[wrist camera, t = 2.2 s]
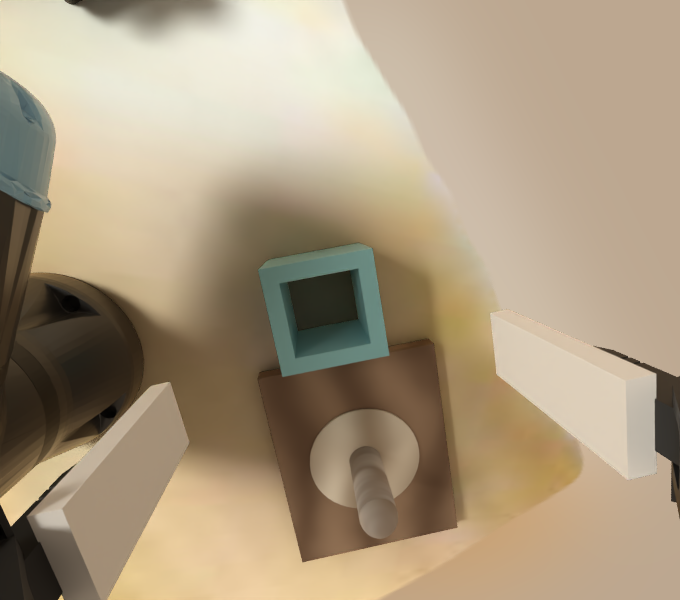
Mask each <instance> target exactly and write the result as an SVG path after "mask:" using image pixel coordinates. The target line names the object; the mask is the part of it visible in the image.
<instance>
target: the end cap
mask: <svg viewBox="0 0 680 600" xmlns="http://www.w3.org/2000/svg"><path fill="white" fill-rule="evenodd" d="M65 1H66V2H67V3H70V4H75V3H78V2H80V1H82V0H65Z"/></svg>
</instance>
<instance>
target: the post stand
mask: <svg viewBox="0 0 680 600" xmlns="http://www.w3.org/2000/svg"><path fill="white" fill-rule="evenodd" d="M388 350H389V356H385V357H380V358H375V359H370V360H365V361H360V362H355V363H350V364H345V365H340V366H335V367H330V368H325V369H320V370H315V371H310V372H305V373H300V374H295V375H290V376H285V377H282V373H281V369H275V370H270V371H265V372H260V374H259V377H258V382H259V386H260V390H261V394H262V399H263V403H264V407H265V411H266V415H267V419H268V423H269V427H270V431H271V435H272V439H273V443H274V448H275V452H276V456H277V460H278V464H279V468H280V472H281V476H282V480H283V484H284V488H285V492H286V497H287V501H288V505H289V509H290V513H291V517H292V521H293V525H294V529H295V533H296V537H297V541H298V546H299V550H300V554H301V558H302V562H306V561H310V560H315V559H319V558H324V557H328V556H332V555H337V554H341V553H346V552H350V551H355V550H359V549H364V548H368V547H373V546H377V545H382V544H386V543H390V542H395V541H399V540H404V539H408V538H413V537H417V536H422V535H426V534H431V533H435V532H440V531H444V530H448V529H453V528H457V520H456V512H455V504H454V496H453V489H452V481H451V473H450V465H449V458H448V450H447V442H446V434H445V427H444V419H443V411H442V403H441V396H440V388H439V380H438V373H437V365H436V357H435V349H434V344H433V343H432V342H431V341H430V340H429V339H425V340H420V341H415V342H410V343H405V344H400V345H395V346H390V347H388Z"/></svg>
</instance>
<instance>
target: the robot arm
mask: <svg viewBox="0 0 680 600" xmlns="http://www.w3.org/2000/svg"><path fill="white" fill-rule="evenodd" d="M55 144H56V134H55V128H54V125H53V122H52V120H51V118H50V116H49V114H48V112H47V111H46V109H45V108H44V106H43V105H42V104H41V103H40V102H39V100H38V99H37V98H36V97H35V96H34V95H32V94H31V93H30V92H29V91H28V90H27V89H26V88H24V87H23V86H22V85H20V84H19V83H18V82H16V81H15V80H13V79H12V78H10V77H9V76H7V75H6V74H4V73H3V72H1V71H0V498H1V497H2V496H3V495H4V494H6V493H7V492H8V491H9V490H10V489H11V488H12V487H13V486H14V485H15V484H17V483H18V482H19V481H20V480H21V479H22V478H23V477H24V476H25V475H26V474H27V473H28V472H29V471H31V470H32V469H33V468H34V467H35V466H36V465H37V464H39V463H41V462H43V461H46V460H48V459H50V458H53V457H55V456H57V455H60V454H62V453H64V452H67V451H69V450H71V449H73V448H76V447H78V446H80V445H83V444H85V443H87V442H89V441H91V440H93V439H95V438H96V437H98V436H99V435H101V434H102V433H104V432H105V431H106V430H107V429H109V428H110V427H111V426H112V425H113V424H114V423H115V422H116V421H117V420H118V419H119V418H120V417H121V416H122V415H123V414H124V415H123V416H122V417H121V418H120V419H119V420H118V421H117V422H116V423H115V424H114V425H113V426H112V427H111V428H110V429H109V430H108V431H107V432H106V434H105V435H104V436H103V437H102V438H101V439H100V440H99V441H98V442H97V443H96V444H95V445H94V446H93V447H92V448H91V449H90V450H89V451H88V453H87V454H86V455H85V456H84V457H83V458H82V459H81V460H80V461H79V462H78V463H77V464H75V465H74V466H73V467H71V468H70V469H68V470H67V471H66V472H64V473H63V474H62V475H61V476H60V477H59V478H58V479H57V480H56V481H55V482H54V483H53V484H52V485H51V486H50V487H49V490H46V491H45V492H44V493H43V494H42V495H41V496H40V497H39V500H38V501H35V503H34V504H33V505H32V506H31V507H30V508H29V509H28V510H27V511H26V512H25V513H24V514H23V515H22V516H21V517H20V518H19V519H18V520H17V521H16V522H15V523H14V524H13V525H12V526H10V524H9V522H8V520H7V518H6V516H5V514H4V512H3V509H2V507H1V505H0V600H58V599H59V597H60V596H61V594H62V596H63V598H64V600H107V598H108V596H109V595H110V593H111V591H112V589H113V587H114V585H115V583H116V581H117V579H118V578H119V576H120V574H121V572H122V570H123V568H124V566H125V564H126V562H127V560H128V559H129V557H130V555H131V553H132V551H133V549H134V547H135V545H136V543H137V542H138V540H139V538H140V536H141V534H142V532H143V530H144V528H145V526H146V524H147V523H148V521H149V519H150V517H151V515H152V513H153V511H154V509H155V507H156V506H157V504H158V502H159V500H160V498H161V496H162V494H163V492H164V490H165V488H166V487H167V485H168V483H169V481H170V479H171V477H172V475H173V473H174V471H175V470H176V468H177V466H178V464H179V462H180V460H181V458H182V456H183V454H184V453H185V451H186V449H187V447H188V445H189V443H190V442H189V439H188V436H187V433H186V430H185V427H184V423H183V420H182V417H181V414H180V411H179V408H178V405H177V402H176V398H175V395H174V392H173V389H172V386H171V383H170V382H166V383H162V384H157V385H152V386H150V387H149V388H148V389H147V390H146V391H145V392H144V393H143V394H142V396H141V397H140V398H139V399H138V400H137V401H136V402H135V403H134V404H133V405H132V406H131V407H130V405H131V404H132V402H133V401H134V399H135V397H136V395H137V393H138V391H139V388H140V385H141V381H142V376H143V353H142V348H141V344H140V341H139V338H138V336H137V333H136V331H135V329H134V327H133V325H132V324H131V322H130V321H129V319H128V318H127V316H126V315H125V314H124V312H123V311H122V310H121V309H120V308H119V307H118V306H117V305H116V304H115V303H114V302H113V301H112V300H111V299H110V298H109V297H107V296H106V295H105V294H103V293H102V292H100V291H99V290H97V289H96V288H94V287H92V286H90V285H88V284H86V283H84V282H82V281H79V280H77V279H74V278H71V277H67V276H64V275H59V274H52V273H30V272H31V267H32V263H33V258H34V254H35V250H36V245H37V241H38V236H39V232H40V227H41V223H42V219H43V214H44V212H47V213H48V212H49V210H50V208H51V203H50V201H49V199H48V198H47V194H48V188H49V182H50V176H51V169H52V163H53V157H54V151H55ZM490 317H491V326H492V336H493V345H494V354H495V364H496V373H497V375H498V376H499V377H501V378H502V379H503V380H504V381H505V382H507V383H508V384H509V385H510V386H512V387H513V388H514V389H515V390H517V391H518V392H519V393H520V394H522V395H523V396H524V397H525V398H527V399H528V400H529V401H530V402H531V403H533V404H534V405H535V406H536V407H538V408H539V409H540V410H541V411H543V412H544V413H545V414H546V415H548V416H549V417H550V418H551V419H553V420H554V421H555V422H556V423H558V424H559V425H560V426H561V427H562V428H564V429H565V430H566V431H567V432H569V433H570V434H571V435H572V436H574V437H575V438H576V439H577V440H579V441H580V442H581V443H582V444H584V445H585V446H586V447H587V448H589V449H590V450H591V451H592V452H593V453H595V454H596V455H597V456H598V457H600V458H601V459H602V460H603V461H605V462H606V463H607V464H608V465H610V466H611V467H612V468H613V469H615V470H616V471H617V472H618V473H620V474H621V475H622V476H623V477H625V478H626V479H627V480H632V479H636V478H640V477H644V476H648V475H652V474H656V473H657V452H658V453H660V454H661V455H663V456H664V457H666V458H667V459H669V460H670V461H672V473H671V477H672V478H671V501H673V502H677V507H678V512H679V517H680V376H679V377H676V376H673V375H671V374H669V373H666V372H664V371H661V370H659V369H657V368H654V367H652V366H650V365H647V364H645V363H640V361H638V360H635V359H633V358H628V356H626V355H623V354H621V353H619V352H616V351H614V350H610V349H605V348H600V347H596V346H591V345H589V344H587V343H585V342H582V341H580V340H578V339H575V338H573V337H571V336H568V335H566V334H563V333H562V332H559V331H557V330H555V329H552V328H550V327H548V326H545V325H543V324H541V323H539V322H536V321H534V320H532V319H530V318H527V317H525V316H523V315H520V314H518V313H516V312H514V311H511V310H509V309H506V310H501V311H497V312H492V313H490ZM129 407H130V408H129ZM128 408H129V409H128ZM127 409H128V410H127ZM126 410H127V411H126ZM125 411H126V412H125Z"/></svg>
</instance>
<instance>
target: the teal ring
mask: <svg viewBox="0 0 680 600" xmlns="http://www.w3.org/2000/svg"><path fill="white" fill-rule="evenodd" d="M348 270H350V274H351V280H352V285H353V291H354V297H355V303H356V308H357V314H358V319H356V320H351V321H346V322H341V323H335V324H330V325H325V326H320V327H315V328H310V329H305V330H300V331H298V329H297V324H296V319H295V315H294V310H293V305H292V301H291V296H290V291H289V287H288V282H290V281H295V280H300V279H305V278H311V277H316V276H321V275H327V274H332V273H337V272H342V271H348ZM258 272H259V277H260V281H261V286H262V290H263V294H264V299H265V303H266V307H267V312H268V316H269V321H270V325H271V329H272V334H273V338H274V342H275V347H276V351H277V355H278V360H279V364H280V369H281V373H282V377H285V376H290V375H295V374H300V373H305V372H310V371H315V370H320V369H325V368H330V367H335V366H340V365H345V364H350V363H355V362H360V361H365V360H370V359H375V358H380V357H385V356H389V350H388V343H387V337H386V331H385V324H384V318H383V312H382V305H381V299H380V293H379V286H378V280H377V274H376V267H375V261H374V255H373V248H371V247H368V246H366V245H363V244H361V243H355V244H349V245H344V246H338V247H333V248H328V249H322V250H317V251H312V252H306V253H301V254H296V255H290V256H285V257H280V258H274V259H269V260H268V261H266V262H265V263H264V264H263V265H262V266H261V267H260V268H259V269H258Z"/></svg>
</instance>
